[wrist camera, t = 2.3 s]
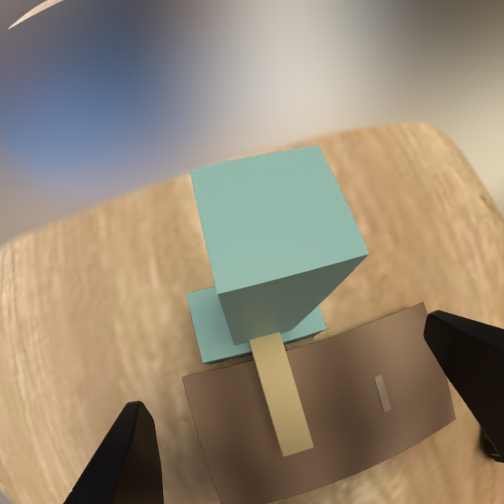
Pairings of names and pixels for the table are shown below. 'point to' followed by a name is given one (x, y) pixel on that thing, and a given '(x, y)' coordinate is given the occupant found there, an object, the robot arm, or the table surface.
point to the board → (323, 410)
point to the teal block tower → (271, 267)
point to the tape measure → (491, 449)
